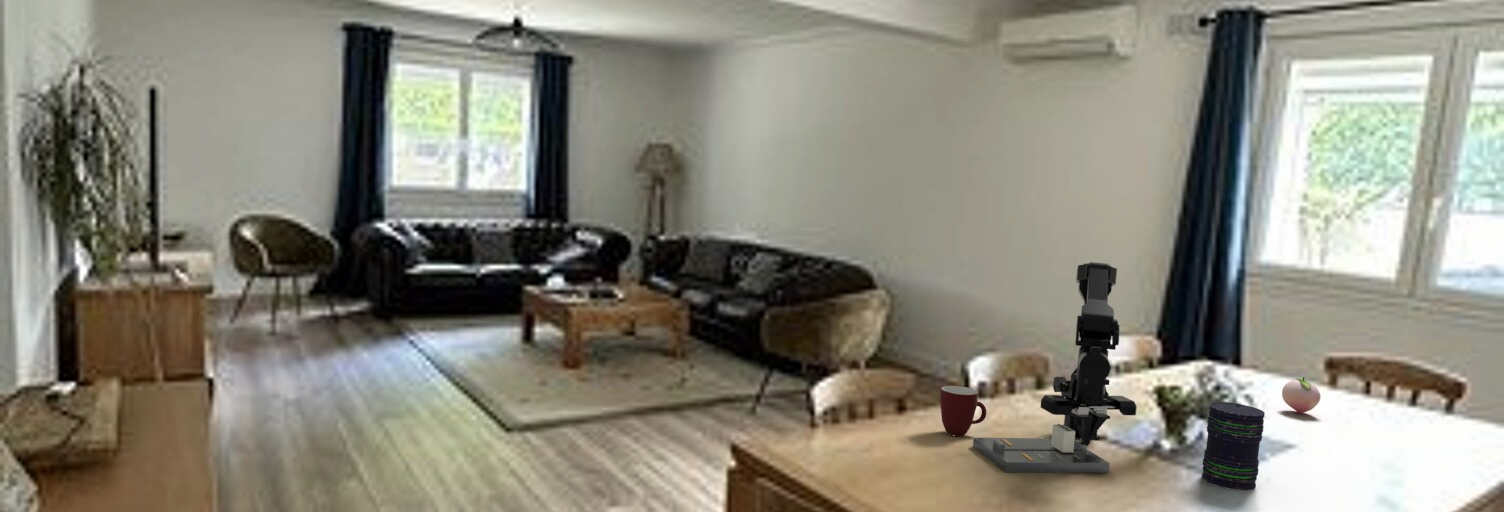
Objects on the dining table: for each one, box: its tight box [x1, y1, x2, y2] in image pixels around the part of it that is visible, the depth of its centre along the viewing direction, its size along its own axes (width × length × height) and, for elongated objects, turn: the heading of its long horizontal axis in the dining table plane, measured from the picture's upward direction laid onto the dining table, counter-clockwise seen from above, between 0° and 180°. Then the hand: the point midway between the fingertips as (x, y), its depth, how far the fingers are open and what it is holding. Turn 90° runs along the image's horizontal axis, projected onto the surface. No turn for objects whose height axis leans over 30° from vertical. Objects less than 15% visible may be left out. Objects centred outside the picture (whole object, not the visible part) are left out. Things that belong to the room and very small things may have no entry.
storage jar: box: [1201, 401, 1266, 492], centre depth 181 cm, size 10×10×15 cm
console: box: [972, 437, 1110, 474], centre depth 189 cm, size 22×16×4 cm
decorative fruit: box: [1281, 376, 1321, 414], centre depth 243 cm, size 9×8×10 cm
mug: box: [939, 385, 987, 437], centre depth 203 cm, size 10×8×10 cm
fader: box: [1051, 423, 1076, 452], centre depth 189 cm, size 2×5×5 cm, turn 10°
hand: (1084, 445), depth 190 cm, fingers closed
